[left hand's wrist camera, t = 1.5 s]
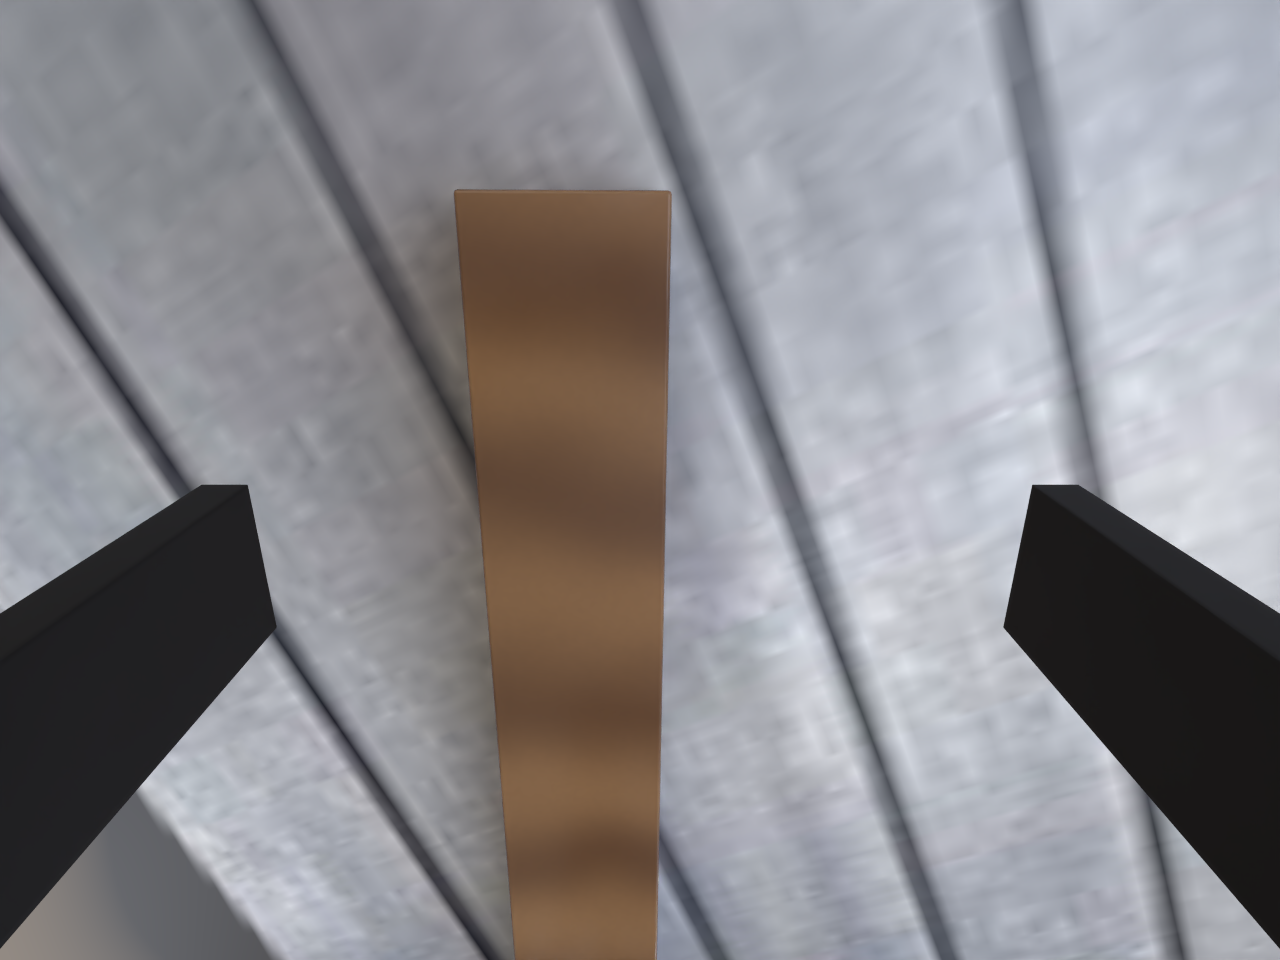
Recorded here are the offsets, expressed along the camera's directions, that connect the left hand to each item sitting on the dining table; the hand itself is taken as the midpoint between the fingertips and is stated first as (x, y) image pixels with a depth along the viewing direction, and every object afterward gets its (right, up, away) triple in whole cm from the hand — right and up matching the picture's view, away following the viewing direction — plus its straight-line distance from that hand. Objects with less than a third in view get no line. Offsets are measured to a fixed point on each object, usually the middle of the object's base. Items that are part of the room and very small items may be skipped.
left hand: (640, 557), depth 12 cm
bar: (-2, -14, +20) cm, 25 cm away
